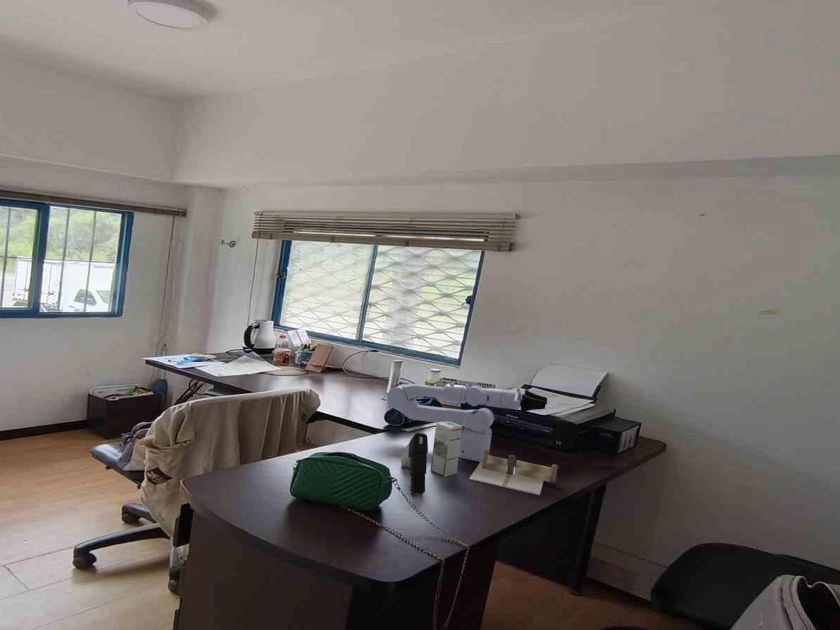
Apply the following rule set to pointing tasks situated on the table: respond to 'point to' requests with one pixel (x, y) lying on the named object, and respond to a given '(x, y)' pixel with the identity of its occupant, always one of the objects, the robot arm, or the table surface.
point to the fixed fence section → (498, 463)
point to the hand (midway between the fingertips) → (546, 403)
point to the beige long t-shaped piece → (536, 471)
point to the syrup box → (446, 448)
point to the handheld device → (416, 461)
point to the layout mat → (507, 480)
